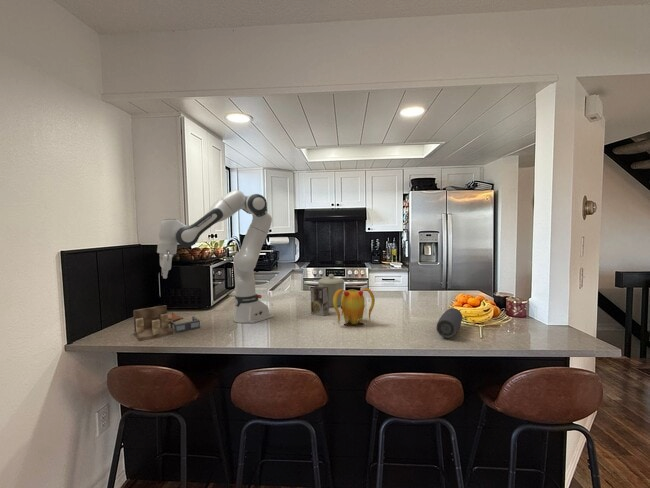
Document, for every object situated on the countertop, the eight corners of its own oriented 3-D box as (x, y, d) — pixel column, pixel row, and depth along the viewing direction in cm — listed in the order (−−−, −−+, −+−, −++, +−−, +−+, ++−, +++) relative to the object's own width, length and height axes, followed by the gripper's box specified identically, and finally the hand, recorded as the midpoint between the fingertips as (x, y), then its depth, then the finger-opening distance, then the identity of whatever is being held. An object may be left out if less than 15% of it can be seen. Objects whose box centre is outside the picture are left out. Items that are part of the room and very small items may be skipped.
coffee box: (329, 313, 188) (328, 286, 187) (323, 316, 183) (322, 288, 182) (316, 311, 193) (316, 285, 192) (310, 314, 188) (310, 287, 187)
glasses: (193, 323, 173) (193, 316, 173) (200, 327, 166) (199, 320, 165) (170, 328, 166) (170, 320, 165) (175, 333, 158) (175, 325, 158)
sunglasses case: (161, 327, 167) (155, 316, 167) (152, 333, 168) (146, 322, 169) (184, 318, 184) (179, 308, 185) (176, 323, 186) (171, 313, 186)
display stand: (166, 327, 167) (165, 305, 167) (173, 333, 157) (172, 310, 156) (134, 333, 158) (133, 310, 157) (139, 341, 147) (138, 316, 146)
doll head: (369, 318, 176) (369, 284, 175) (376, 326, 161) (376, 289, 160) (331, 320, 174) (330, 285, 173) (334, 328, 159) (333, 291, 158)
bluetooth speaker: (444, 324, 163) (444, 305, 162) (463, 327, 158) (463, 308, 158) (434, 338, 143) (434, 317, 143) (456, 342, 139) (456, 320, 138)
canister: (315, 308, 200) (314, 276, 198) (320, 301, 217) (320, 271, 216) (343, 309, 197) (343, 276, 195) (346, 302, 214) (346, 272, 213)
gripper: (176, 251, 152) (173, 280, 152) (171, 249, 170) (169, 274, 170) (161, 250, 149) (158, 279, 149) (158, 248, 167) (155, 274, 166)
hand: (164, 277), depth 159 cm, fingers open, 8 cm apart
